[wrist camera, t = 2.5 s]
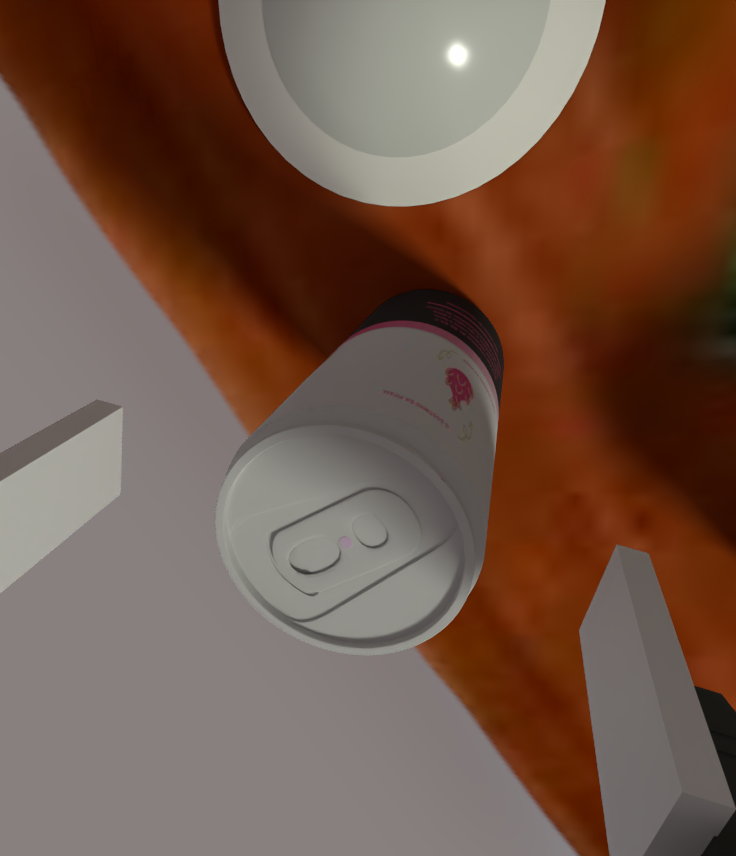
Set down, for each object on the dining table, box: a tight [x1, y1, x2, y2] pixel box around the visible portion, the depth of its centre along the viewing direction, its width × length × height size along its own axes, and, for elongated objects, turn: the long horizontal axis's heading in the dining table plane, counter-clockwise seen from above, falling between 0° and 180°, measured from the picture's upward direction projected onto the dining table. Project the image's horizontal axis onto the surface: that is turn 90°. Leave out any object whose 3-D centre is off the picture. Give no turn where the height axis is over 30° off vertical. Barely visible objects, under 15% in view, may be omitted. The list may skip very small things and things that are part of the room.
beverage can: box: [215, 289, 504, 655], centre depth 21 cm, size 6×7×15 cm
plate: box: [218, 0, 606, 206], centre depth 22 cm, size 14×14×1 cm
